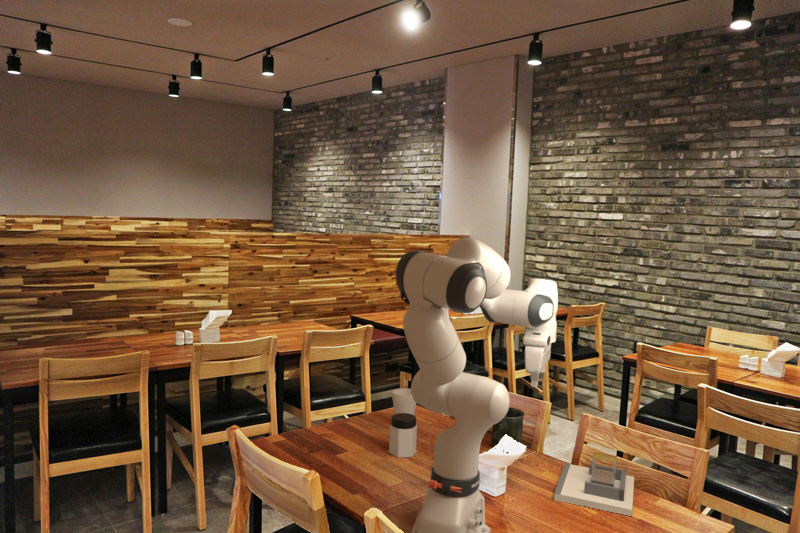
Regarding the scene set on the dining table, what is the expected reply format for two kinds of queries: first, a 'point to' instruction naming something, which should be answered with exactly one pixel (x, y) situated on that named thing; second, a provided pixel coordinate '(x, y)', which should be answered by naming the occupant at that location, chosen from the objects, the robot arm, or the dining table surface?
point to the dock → (595, 489)
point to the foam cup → (403, 401)
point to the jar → (403, 435)
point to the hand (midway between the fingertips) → (537, 382)
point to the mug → (509, 426)
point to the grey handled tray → (600, 474)
